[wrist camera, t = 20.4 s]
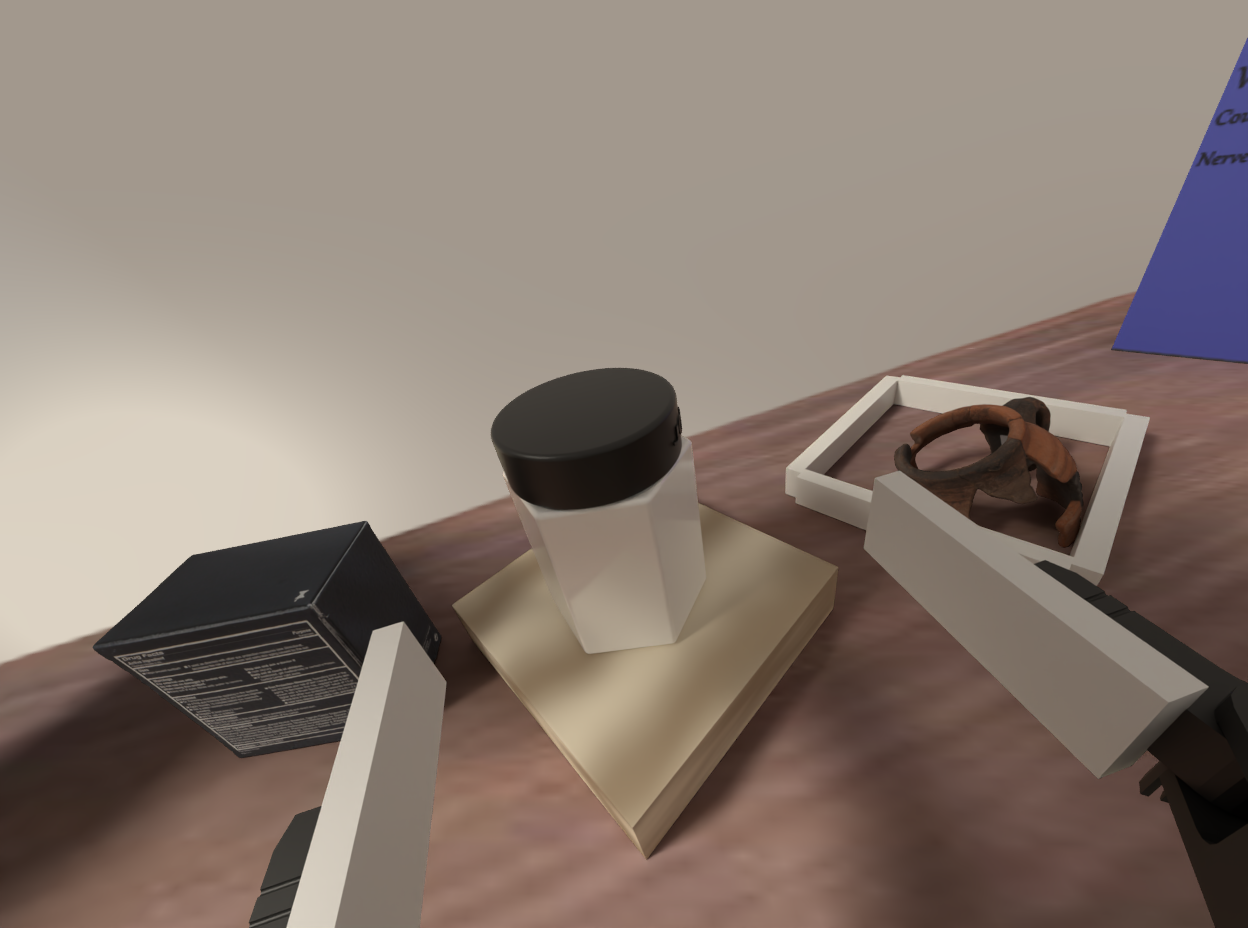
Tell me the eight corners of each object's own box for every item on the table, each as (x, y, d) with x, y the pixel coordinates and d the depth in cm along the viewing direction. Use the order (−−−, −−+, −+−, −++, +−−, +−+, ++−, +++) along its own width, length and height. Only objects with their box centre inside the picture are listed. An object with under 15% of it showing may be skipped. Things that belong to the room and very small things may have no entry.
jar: (737, 602, 24) (726, 400, 17) (606, 692, 21) (532, 491, 14) (645, 519, 31) (612, 351, 24) (537, 579, 28) (466, 407, 21)
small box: (447, 630, 30) (372, 512, 25) (417, 730, 25) (312, 609, 19) (297, 658, 31) (189, 548, 25) (235, 762, 25) (79, 652, 20)
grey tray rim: (781, 497, 35) (781, 471, 34) (885, 396, 45) (889, 373, 44) (1082, 613, 24) (1101, 582, 22) (1135, 443, 33) (1151, 413, 32)
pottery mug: (1077, 592, 25) (1022, 487, 23) (906, 565, 34) (854, 487, 31) (1127, 448, 30) (1085, 348, 27) (965, 456, 38) (922, 380, 36)
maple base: (472, 639, 29) (451, 605, 27) (642, 508, 37) (636, 474, 35) (646, 859, 18) (632, 827, 17) (833, 608, 26) (838, 567, 25)
